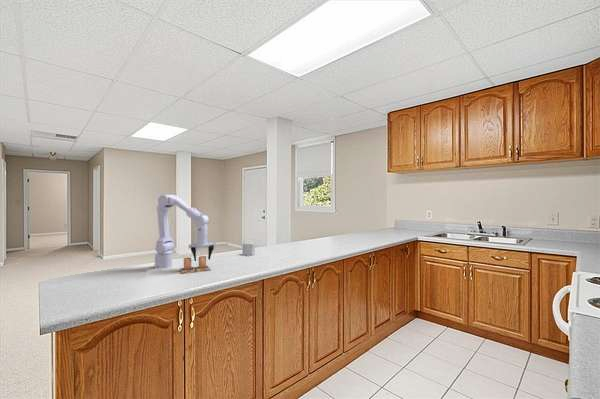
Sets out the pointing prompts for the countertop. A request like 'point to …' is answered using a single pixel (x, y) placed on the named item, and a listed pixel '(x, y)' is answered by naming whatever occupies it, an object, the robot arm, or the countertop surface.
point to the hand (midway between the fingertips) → (202, 259)
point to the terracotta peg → (202, 262)
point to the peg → (187, 264)
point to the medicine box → (248, 249)
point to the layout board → (194, 270)
